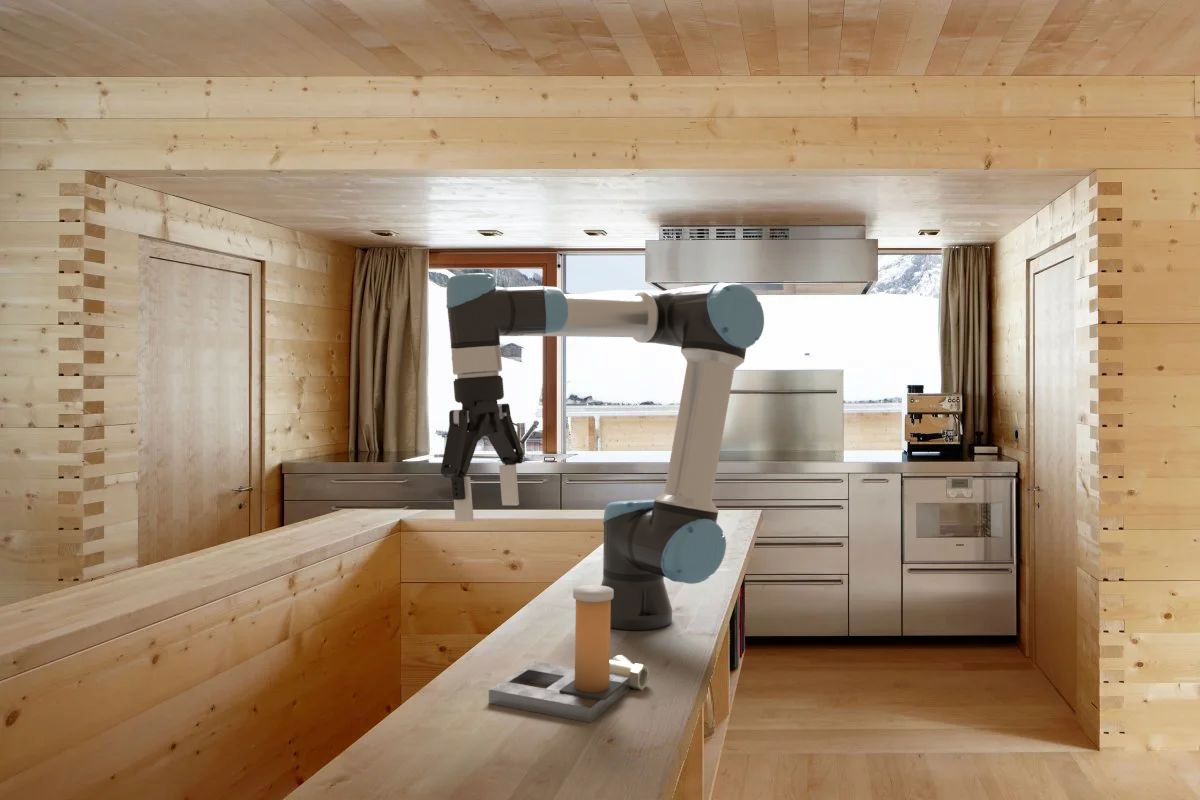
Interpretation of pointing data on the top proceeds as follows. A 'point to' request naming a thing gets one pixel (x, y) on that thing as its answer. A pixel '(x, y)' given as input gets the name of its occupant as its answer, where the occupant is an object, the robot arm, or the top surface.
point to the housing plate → (552, 693)
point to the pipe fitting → (630, 671)
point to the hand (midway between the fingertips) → (488, 512)
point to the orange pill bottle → (592, 637)
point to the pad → (596, 695)
